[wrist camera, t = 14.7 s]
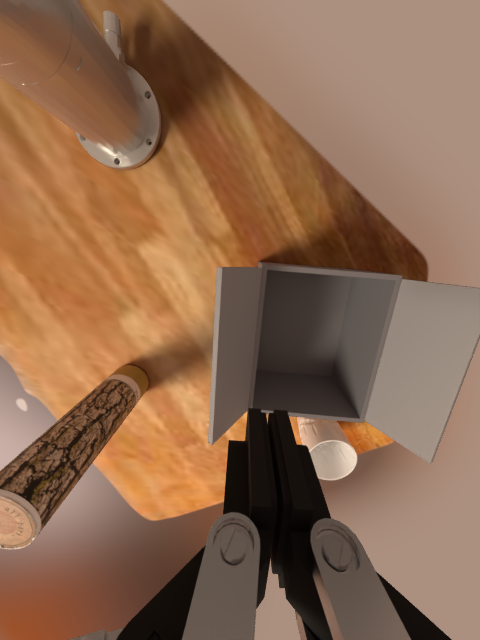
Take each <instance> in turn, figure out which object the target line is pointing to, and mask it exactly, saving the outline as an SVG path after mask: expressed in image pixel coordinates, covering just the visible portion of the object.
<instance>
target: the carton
mask: <svg viewBox="0 0 480 640" xmlns="http://www.w3.org/2000/svg"><path fill="white" fill-rule="evenodd" d="M258 267H261V268H262V275H261V285H260V295H259V305H258V315H257V324H256V334H255V344H254V354H253V363H252V373H251V383H250V393H249V403H248V408H258V409H261V412H265V413H266V414H269V413H273V411H274V410H287V412H288V415H289V416H292V417H304V418H315V419H326V420H337V421H348V422H360V423H364V419H365V416H366V412H367V408H368V404H369V400H370V397H371V393H372V389H373V385H374V382H375V378H376V374H377V370H378V367H379V363H380V359H381V355H382V351H383V348H384V344H385V340H386V336H387V333H388V329H389V325H390V321H391V317H392V314H393V310H394V306H395V302H396V299H397V295H398V291H399V287H400V284H401V280H402V275H394V274H387V273H379V272H371V271H363V270H356V269H343V268H331V267H319V266H307V265H295V264H282V263H270V262H258ZM247 412H248V410H247Z"/></svg>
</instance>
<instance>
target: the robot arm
mask: <svg viewBox="0 0 480 640" xmlns="http://www.w3.org/2000/svg"><path fill="white" fill-rule="evenodd" d="M103 29H104V35H105V39H104V37H103V36H102V34H101V33H100V31H99V30H98V28H97V27H96V25H95V24H94V22H93V21H92V19H91V18H90V16H89V15H88V13H87V12H86V10H85V9H84V7H83V6H82V4H81V3H80V1H79V0H0V78H2V79H3V80H5V81H6V82H7V83H9V84H10V85H12V86H13V87H14V88H16V89H17V90H19V91H20V92H21V93H23V94H24V95H26V96H27V97H28V98H30V99H31V100H32V101H34V102H35V103H37V104H38V105H39V106H41V107H42V108H44V109H45V110H46V111H48V112H49V113H51V114H52V115H53V116H55V117H56V118H57V119H59V120H60V121H62V122H63V123H64V124H66V125H67V126H69V127H70V128H71V129H73V130H74V131H75V133H76V135H77V137H78V139H79V141H80V143H81V144H82V146H83V147H84V148H85V150H86V151H87V152H88V153H89V154H90V155H91V156H92V157H93V158H95V159H96V160H97V161H99V162H100V163H102V164H104V165H106V166H108V167H110V168H113V169H118V170H129V169H133V168H136V167H139V166H140V165H142V164H144V163H145V162H146V161H147V160H148V159H149V158H150V157H151V156H152V154H153V153H154V151H155V150H156V147H157V145H158V143H159V139H160V135H161V124H162V123H161V113H160V109H159V105H158V102H157V100H156V97H155V95H154V93H153V91H152V89H151V88H150V86H149V84H148V83H147V82H146V80H145V79H144V78H143V77H142V76H141V75H140V74H139V73H138V72H137V71H136V70H135V69H133V68H132V67H130V66H129V65H127V64H126V63H125V56H124V53H123V51H122V50H121V26H120V19H119V18H118V16H117V15H115V14H114V13H113V12H111V11H104V12H103ZM149 98H150V99H149ZM151 143H152V144H151ZM150 144H151V145H150ZM119 163H120V164H119ZM270 558H271V567H272V573H273V574H278V578H279V587H280V588H285V593H286V599H287V600H288V601H289V603H290V604H291V605H292V607H293V608H294V609H295V614H296V620H297V625H298V629H299V633H300V637H301V640H451V639H450V638H449V637H448V636H447V635H446V634H445V633H444V632H443V631H441V630H440V629H439V628H438V627H437V626H436V625H435V624H434V623H433V622H431V621H430V620H429V619H428V618H427V617H426V616H425V615H424V614H422V613H421V612H420V611H419V610H418V609H417V608H416V607H415V606H414V605H412V603H410V602H409V601H408V600H407V599H406V598H405V597H404V596H402V594H400V593H399V592H398V591H397V590H396V589H395V588H394V587H392V585H390V584H389V583H388V582H387V581H386V580H385V579H384V578H383V577H382V576H380V575H379V574H378V573H377V572H376V571H375V569H374V567H373V565H372V563H371V561H370V560H369V558H368V556H367V554H366V552H365V550H364V548H363V546H362V544H361V543H360V541H359V539H358V538H357V536H356V535H355V534H354V533H353V532H352V531H351V530H350V529H349V528H348V527H347V526H346V525H344V524H343V523H341V522H340V521H337V520H334V519H331V517H330V513H329V510H328V507H327V504H326V501H325V498H324V495H323V492H322V489H321V486H320V483H319V480H318V476H317V473H316V470H315V467H314V464H313V461H312V458H311V455H310V452H309V449H308V447H307V446H306V445H296V441H295V437H294V434H293V430H292V426H291V423H290V419H289V415H288V412H287V410H274V411H273V413H269V416H268V424H267V418H266V413H265V412H261V409H258V408H248V415H247V426H246V437H245V441H233V440H229V446H228V459H227V472H226V484H225V497H224V510H223V515H222V516H221V517H219V518H218V519H217V520H216V521H215V523H214V524H213V525H212V527H211V530H210V532H209V535H208V539H207V543H206V545H205V547H204V548H202V549H201V550H200V551H199V552H198V554H196V556H194V558H193V559H191V561H189V563H187V564H186V566H185V567H184V568H183V569H182V570H181V571H180V572H179V573H178V574H177V575H176V576H175V577H174V578H173V579H172V580H171V581H170V582H169V583H168V584H167V585H166V586H165V587H164V588H163V589H162V590H161V591H160V592H159V593H158V594H157V595H156V596H155V597H154V598H153V599H152V600H151V601H150V602H149V603H148V604H147V605H146V606H145V607H144V608H143V609H142V610H141V611H140V612H139V613H138V614H137V615H136V616H135V617H134V618H133V619H132V620H131V621H130V622H129V623H128V624H127V625H126V627H125V628H122V629H119V630H116V631H112V632H109V633H106V629H104V630H101V631H97V632H94V633H90V634H87V635H83V636H80V637H77V638H73V639H69V640H254V633H255V618H256V609H257V607H258V606H259V604H260V603H261V601H262V600H263V598H264V595H265V589H266V583H267V577H268V570H269V564H270Z"/></svg>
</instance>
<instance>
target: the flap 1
mask: <svg viewBox="0 0 480 640" xmlns="http://www.w3.org/2000/svg"><path fill="white" fill-rule="evenodd" d="M261 275H262V268H261V267H217V276H216V295H215V315H214V335H213V355H212V375H211V395H210V414H209V434H208V443H210V444H212V445H213V444H214V443H215V442H216V441H217V440H218V439H219V438H220V437H221V436H222V435H223V434H224V433H225V432H226V431H227V430H228V429H229V428H230V427H231V426H232V425H233V424H234V423H235V422H236V421H237V420H238V419H239V418H240V417H241V416H242V415H243V414H244V413H245V412H246V411H247V410H248V403H249V393H250V383H251V373H252V363H253V354H254V344H255V334H256V324H257V315H258V305H259V295H260V285H261Z"/></svg>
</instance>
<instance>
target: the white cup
mask: <svg viewBox="0 0 480 640" xmlns="http://www.w3.org/2000/svg"><path fill="white" fill-rule="evenodd" d="M297 422H298V426H299V433H300V438H301V443H302V445H306V446H307V447H308V449H309V452H310V455H311V458H312V461H313V464H314V467H315V470H316V473H317V476H318V478H320V479H323V480H337V479H340V478H343V477H345V476H347V475H348V474H350V472H352V471H353V469H354V468H355V466H356V464H357V454H356V451H355V450H354V448H353V446H352V445H351V443H350V441H349V440H348V438H347V437H346V435H345V433H344V432H343V430H342V428H341V427H340V425H339V424H338V422H337V421H336V420H326V419H315V418H304V417H298V418H297Z"/></svg>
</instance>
